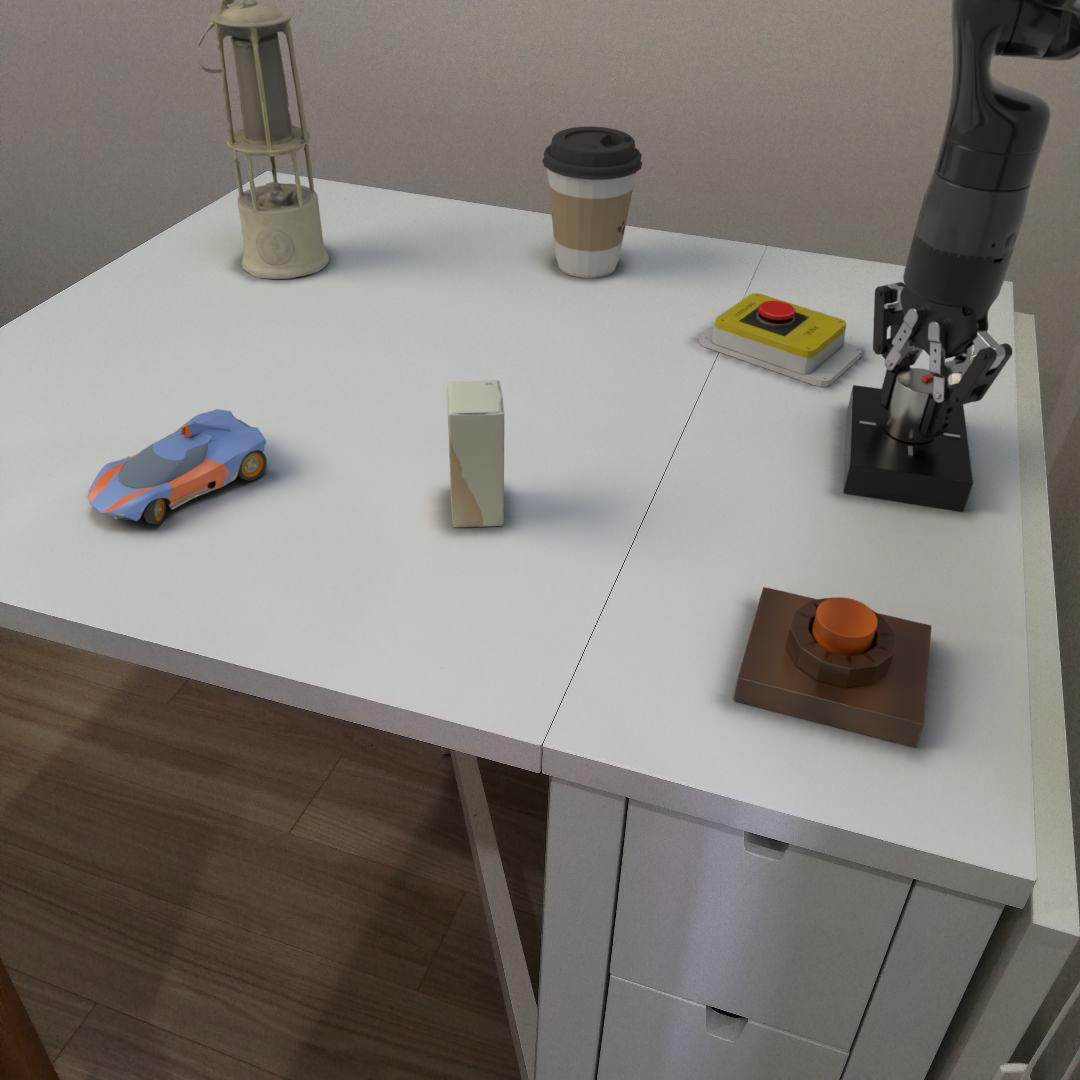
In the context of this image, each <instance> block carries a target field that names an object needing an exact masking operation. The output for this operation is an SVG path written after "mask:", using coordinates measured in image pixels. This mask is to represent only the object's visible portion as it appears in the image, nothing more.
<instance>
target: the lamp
mask: <svg viewBox="0 0 1080 1080" xmlns="http://www.w3.org/2000/svg"><path fill="white" fill-rule="evenodd" d="M235 1H236V0H221V6H220V8H219V10H216V11H215V12H213V13H211V15H210V20H211V22H210V23H208V25H207V26H206V30H205V31H204V33H203V34H202V36H200V38H199V40H198V47H200V46H201V44H202V42H203V41H204V39H205V37H206V35H207V33H208V32H210V31H211V30H212V29H213V28H214V30H215V38H216V41H217V42H218V45H217V49H218V53H219V58H220V64H221V68H217V69H216V68H209V67H205V66H204V65H202V64H201V63H200V62H198V64H199V66H201V69H202V70H203V71H204V72H206V73H209V74H221V75H222V76H221V77H222V82H221V87H222V94H223V104H224V112H225V116H226V117H225V118H226V122H227V123H228V129H227V132H228V136H227V137H226V139H225V142H226V144H227V146H228V147H229V148H231V149H232V152H233V153H232V154H233V163H234V171H235V178H236V186H237V191H238V198H237V209H238V214H239V215H238V216H239V220H240V229H241V234H242V235H241V236H242V245H243V256H242V258H241V269H242V270H244V271H245V272H247V273H248V274H249V275H250V276H253V277H256V278H258V279H268V280H269V279H271V280H287V279H289V280H290V279H294V278H298V277H304V276H308V275H312V274H317V273H318V272H320V271H321V270H323V269H324V268H325V267H326V266H327V265H328V264H329V262H330V256H329V253H328V251H327V249H326V248H325V245H324V238H323V228H322V219H321V211H320V206H319V205H320V203H319V196H318V194H317V192H316V190H315V184H314V176H313V167H312V159H311V153H310V147H309V144H310V140H311V134H310V132H309V131H308V129H307V122H306V117H305V109H304V103H303V96H302V89H301V83H300V78H299V71H298V67H297V60H296V53H295V48H294V41H293V33H292V28H291V24H290V23H291V22H290V21H291V19H292V17H293V13H292V12H291V11H290V10H289V9H287V8H284V7H280V6H275V5H270V4H268V3H264V2H257V1H256V0H244V1H243V2H241V3H235V4H233V3H234V2H235ZM232 4H233V5H232ZM228 5H231V6H228ZM279 33H283V34H284V35H285V37H286V43H287V47H288V53H289V60H290V67H291V72H292V78H293V79H292V80H293V83H294V88H295V89H294V90H295V97H296V104H297V110H298V118H299V123H300V127H299V126H295V125H293V123H292V117H291V113H290V110H289V107H290V103H289V94H288V87H287V80H286V76H285V75H286V74H285V69H284V63H283V58H282V57H283V56H282V51H281V45H280V39H279ZM226 37H230V41H231V48H232V55H233V61H234V68H235V75H236V76H235V77H236V79H237V80H236V81H237V91H238V97H239V105H240V111H241V119H242V128H240V129H236V130H235V131H234V126H233V117H232V110H231V109H232V107H231V102H230V101H231V100H230V93H229V85H228V77H227V69H226V61H225V54H224V53H225V51H224V40H225V38H226ZM301 149H303V151H304V156H305V165H306V174H307V180H308V184H309V186H305V185H302V184H301V179H300V172H299V168H298V167H299V166H298V160H297V159H298V158H297V153H298V152H299V151H300V150H301ZM238 152H239V153H241V154H242V155H243V156H244V158H245V161H246V166H247V173H248V180H249V182H248V183H249V187H250V188H249V189H246V190H245V191H244V187H243V179H242V173H241V164H240V161H239V160H238V159H239V158H238V155H237V153H238ZM283 155H284V156H285V155H289V157H290V159H291V162H292V168H293V173H294V182H295V183H280V182H278V176H277V175H278V174H277V166H276V157H277V156H283ZM251 157H269V160H270V167H271V175H272V182H271V181H270V182H268V183H265V184H263V185H258V186H255V185H256V184H255V178H254V172H253V163H254V162H253V160H252V158H251Z"/></svg>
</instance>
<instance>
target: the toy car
mask: <svg viewBox="0 0 1080 1080" xmlns="http://www.w3.org/2000/svg"><path fill="white" fill-rule="evenodd" d="M266 443H267V440H266V438H265V436H264V434H263V433H262V432H261V430H260V429H259V428H258V427H253V426H250V425H249V424H247V423H246V422H244V421H243V420H241V419H238V418H237V417H235V415H234V414H233V412H232V411H231V410H226V409H220V408H215V409H213V410H209V411H206V412H202V413H199V414H197V415H195V416H193V417H192V418H191V419H190V420H188V421H187V422H186V423H184V424H183V425H181V426H180V427H179V428H178V429H177V430H175V432H173V433H171V434H168V435H167V436H165V437H163V438H160V439H159V440H157V441H155V442H154V443H152V444H150V445H148V446H147V447H144V448H143V449H142V450H141V451H139V452H138V453H136V454H134V455H132V456H126V457H124V458H123V459H118V460H114V461H111V462H108V463H106V464H105V465H103V467H102V468H101V469H100V470H99V472H98V473H97V475H96V476H95V478H94V479H93V481H92V483H91V485H90V488H89V489H88V494H87V498H88V501H89V504H90V505H91V507H92V508H93V509H94V510H96V511H97V512H99V513H102V514H103V515H108V516H111V517H113V518H114V519H115V520H120V521H121V520H122V521H128V520H129V521H134V522H138V521H139V520H140V519H141V517H142V515H143V517H144V520H145V522H146V523H148V524H150V525H159V524H161V523H162V522H163V521H164V519H165V517H166V513H167V506H168V507H169V508H170V510H172V511H173V510H174V509H177V508H178V507H180V506H182V505H184V504H186V503H187V502H189V501H191V500H193V499H196V498H197V497H201V496H202V495H203V496H204V495H205V494H208V493H211V492H213V491H215V490H218V489H220V488H223V487H226V486H227V485H228V484H230V483H232V482H234V481H235V480H236V479H237V477H238V478H240V479H242V480H244V481H249V482H250V481H254V480H257V479H258V478H260V477H261V476H262V475H263V474H264V473H265V470H266V468H267V461H268V459H267V456H266V454H265V449H266Z"/></svg>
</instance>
